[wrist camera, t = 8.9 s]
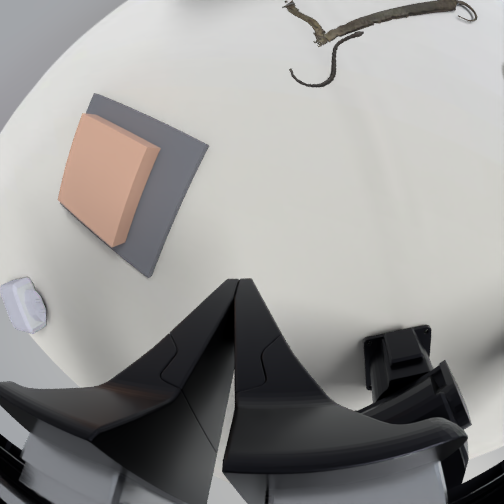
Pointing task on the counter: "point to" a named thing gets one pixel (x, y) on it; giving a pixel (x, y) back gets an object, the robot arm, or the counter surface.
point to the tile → (106, 176)
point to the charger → (23, 305)
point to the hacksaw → (444, 3)
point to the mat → (153, 181)
